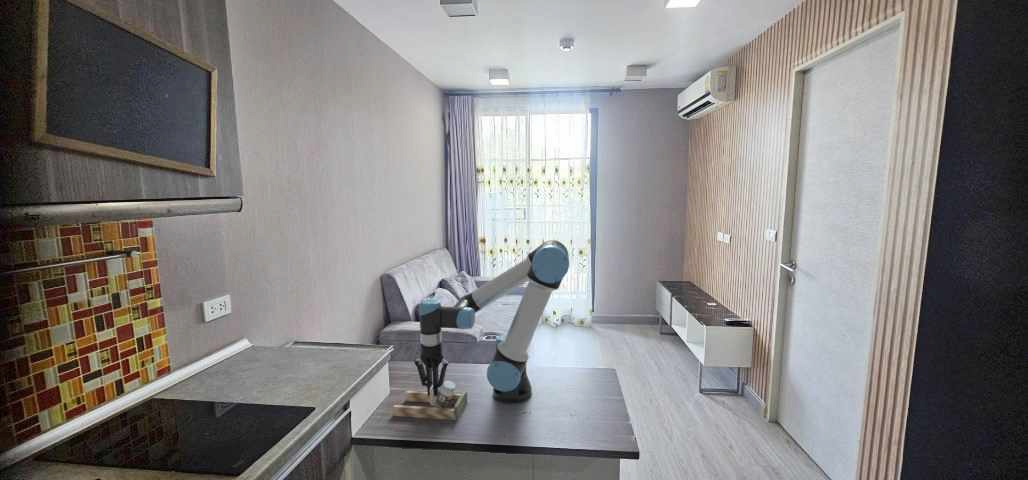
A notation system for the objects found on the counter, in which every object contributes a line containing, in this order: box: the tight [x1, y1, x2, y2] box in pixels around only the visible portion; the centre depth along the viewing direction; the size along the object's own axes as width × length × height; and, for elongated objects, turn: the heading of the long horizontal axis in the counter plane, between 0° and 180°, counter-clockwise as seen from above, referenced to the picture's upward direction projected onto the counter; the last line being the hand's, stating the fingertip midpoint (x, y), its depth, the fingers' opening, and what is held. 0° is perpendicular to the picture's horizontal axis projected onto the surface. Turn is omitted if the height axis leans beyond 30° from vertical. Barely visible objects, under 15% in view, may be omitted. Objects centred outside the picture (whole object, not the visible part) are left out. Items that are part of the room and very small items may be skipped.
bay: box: [392, 390, 468, 421], centre depth 147 cm, size 24×11×5 cm, turn 80°
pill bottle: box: [434, 380, 457, 409], centre depth 145 cm, size 6×6×10 cm
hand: (433, 403), depth 147 cm, fingers closed
